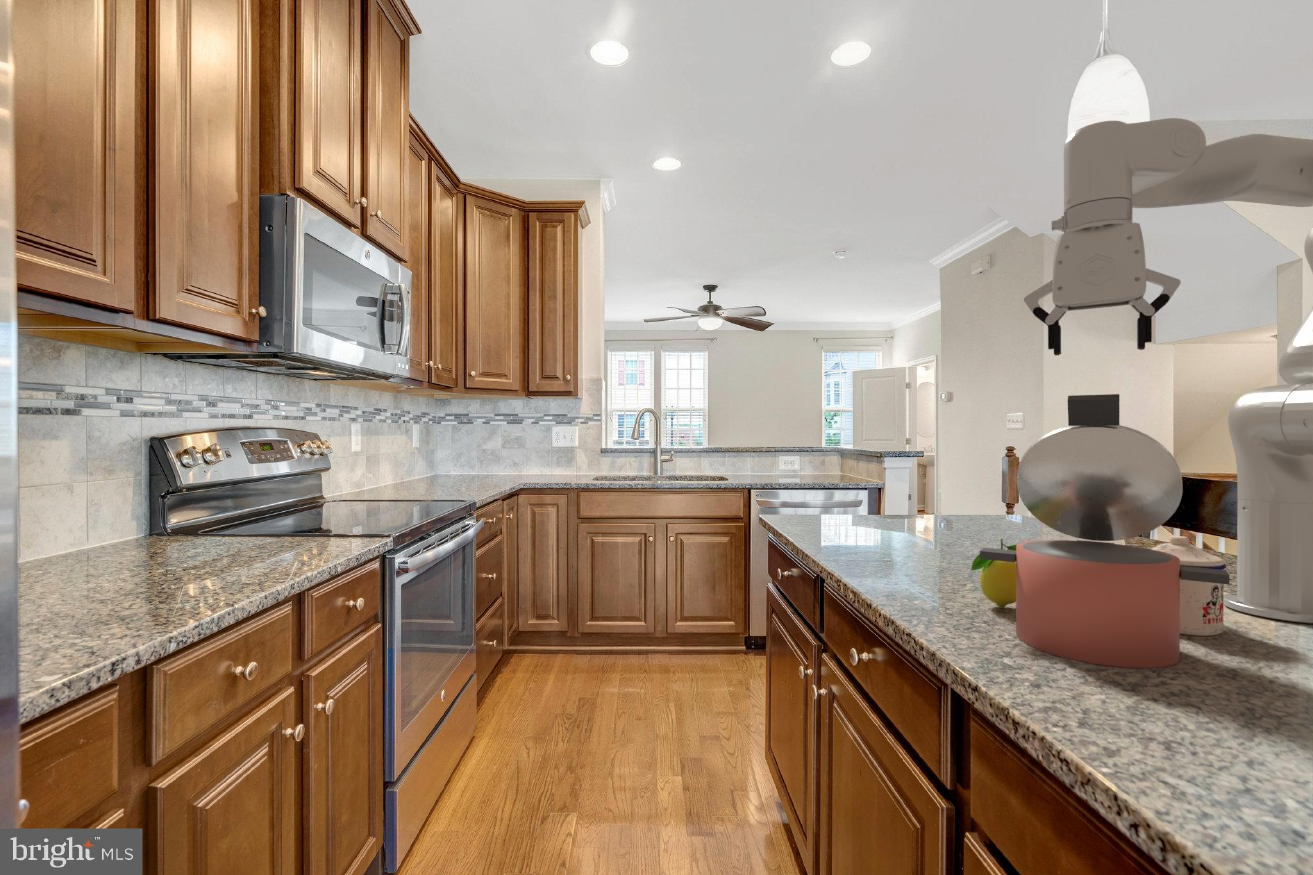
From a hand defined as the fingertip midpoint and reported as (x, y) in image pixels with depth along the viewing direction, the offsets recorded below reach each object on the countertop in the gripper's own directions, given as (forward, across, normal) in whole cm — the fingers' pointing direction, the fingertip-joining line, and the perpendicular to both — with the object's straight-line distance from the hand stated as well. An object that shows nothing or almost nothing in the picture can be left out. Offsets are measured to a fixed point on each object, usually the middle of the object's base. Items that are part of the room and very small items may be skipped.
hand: (1098, 351), depth 85 cm
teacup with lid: (+36, +9, +4) cm, 38 cm away
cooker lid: (+16, 0, -8) cm, 18 cm away
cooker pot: (+36, -1, -12) cm, 38 cm away
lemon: (+36, -11, 0) cm, 38 cm away
